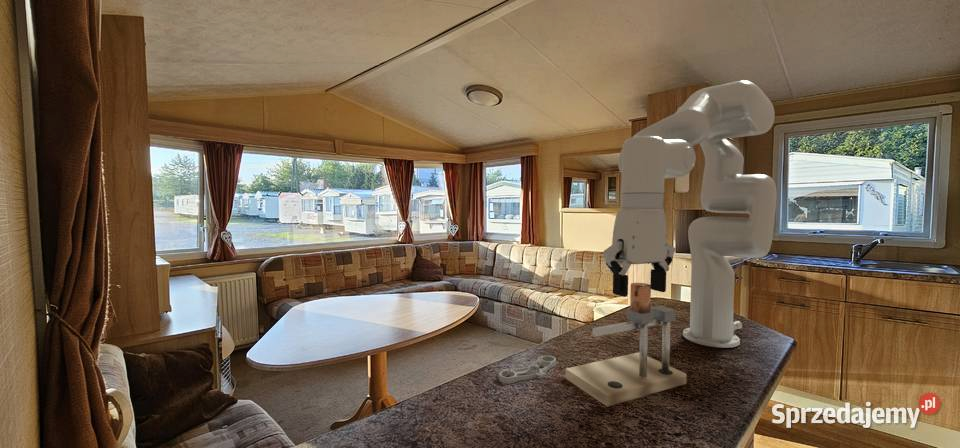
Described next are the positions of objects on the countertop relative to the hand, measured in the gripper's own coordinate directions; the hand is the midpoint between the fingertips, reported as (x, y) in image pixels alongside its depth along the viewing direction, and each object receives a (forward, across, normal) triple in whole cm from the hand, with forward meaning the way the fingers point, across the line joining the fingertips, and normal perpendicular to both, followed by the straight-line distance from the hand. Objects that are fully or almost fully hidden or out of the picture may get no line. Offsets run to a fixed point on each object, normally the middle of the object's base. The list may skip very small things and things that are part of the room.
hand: (639, 292), depth 74 cm
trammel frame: (+16, +1, 0) cm, 16 cm away
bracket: (+19, +15, -14) cm, 28 cm away
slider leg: (+16, -1, 0) cm, 16 cm away
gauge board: (+18, 0, -3) cm, 19 cm away
